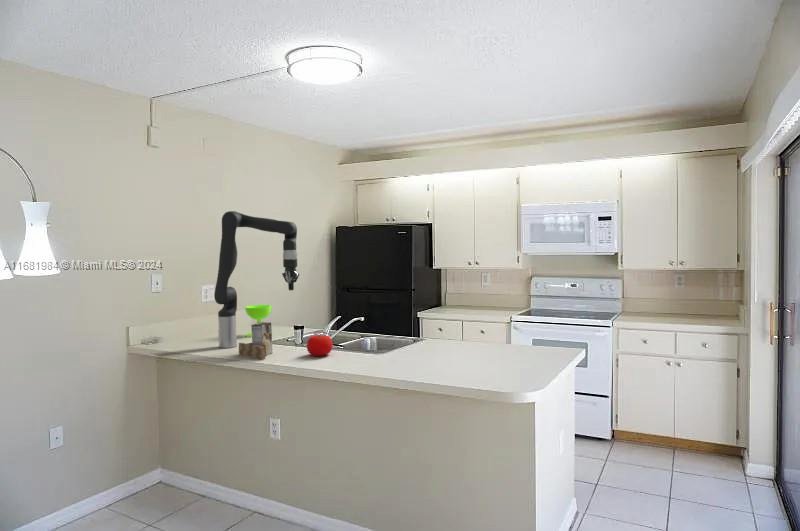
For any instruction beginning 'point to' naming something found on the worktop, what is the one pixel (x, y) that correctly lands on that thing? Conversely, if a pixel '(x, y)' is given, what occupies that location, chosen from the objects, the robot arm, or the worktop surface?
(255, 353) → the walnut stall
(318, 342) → the tomato
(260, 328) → the coffee box
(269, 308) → the wineglass
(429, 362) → the worktop surface
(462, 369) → the worktop surface
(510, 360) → the worktop surface
